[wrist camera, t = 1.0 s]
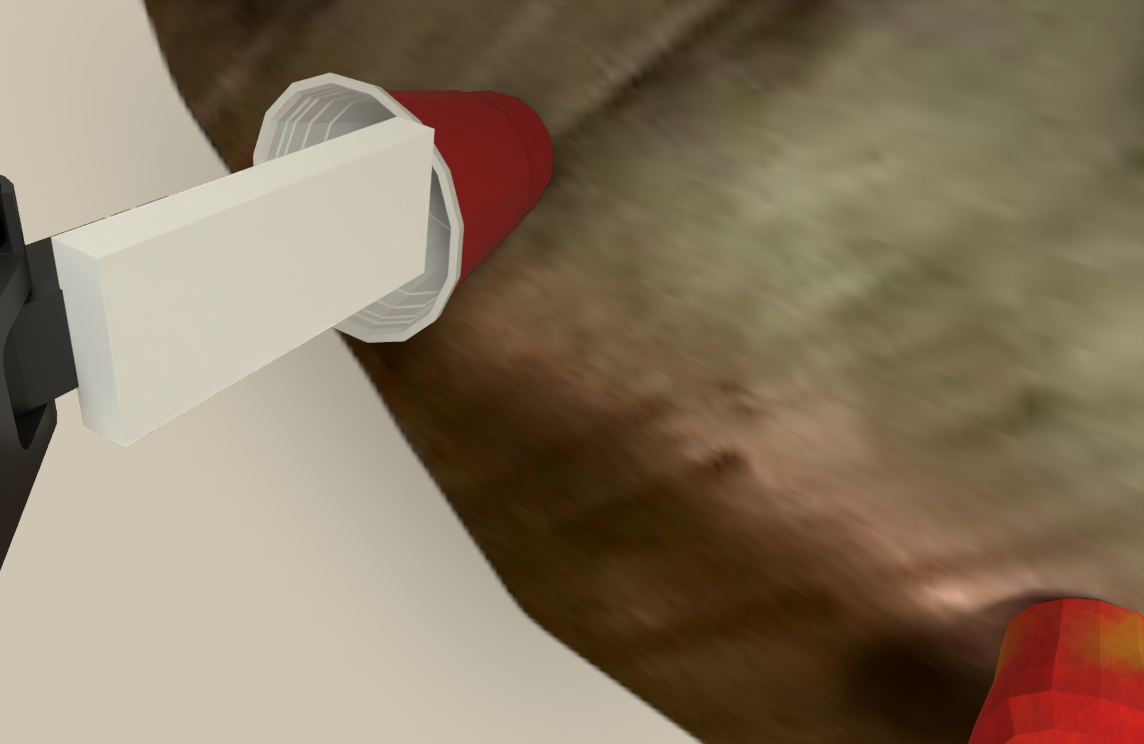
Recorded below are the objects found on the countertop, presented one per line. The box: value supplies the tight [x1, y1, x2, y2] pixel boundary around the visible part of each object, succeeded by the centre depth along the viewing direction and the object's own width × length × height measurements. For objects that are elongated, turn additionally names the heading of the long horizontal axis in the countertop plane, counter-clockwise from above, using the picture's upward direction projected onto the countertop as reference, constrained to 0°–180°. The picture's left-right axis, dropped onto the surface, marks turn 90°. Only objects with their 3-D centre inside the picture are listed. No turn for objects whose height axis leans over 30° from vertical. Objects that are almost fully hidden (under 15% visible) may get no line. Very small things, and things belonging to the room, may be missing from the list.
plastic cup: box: [253, 73, 554, 343], centre depth 41 cm, size 11×11×12 cm
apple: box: [968, 598, 1144, 744], centre depth 38 cm, size 9×8×12 cm
